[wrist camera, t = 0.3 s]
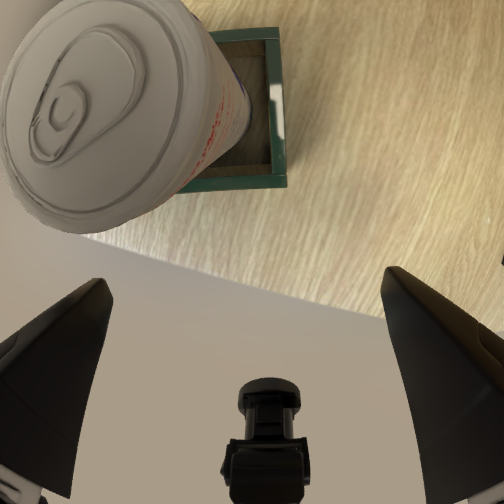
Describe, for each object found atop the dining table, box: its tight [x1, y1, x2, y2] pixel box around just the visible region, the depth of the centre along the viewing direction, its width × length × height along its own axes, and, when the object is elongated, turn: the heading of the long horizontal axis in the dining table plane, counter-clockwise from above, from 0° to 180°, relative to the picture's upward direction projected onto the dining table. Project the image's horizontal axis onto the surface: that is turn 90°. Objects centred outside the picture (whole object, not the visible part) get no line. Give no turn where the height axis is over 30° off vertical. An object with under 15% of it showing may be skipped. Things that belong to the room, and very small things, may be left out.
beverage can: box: [0, 0, 252, 234], centre depth 11 cm, size 6×6×15 cm
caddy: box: [176, 27, 287, 194], centre depth 16 cm, size 9×9×4 cm
